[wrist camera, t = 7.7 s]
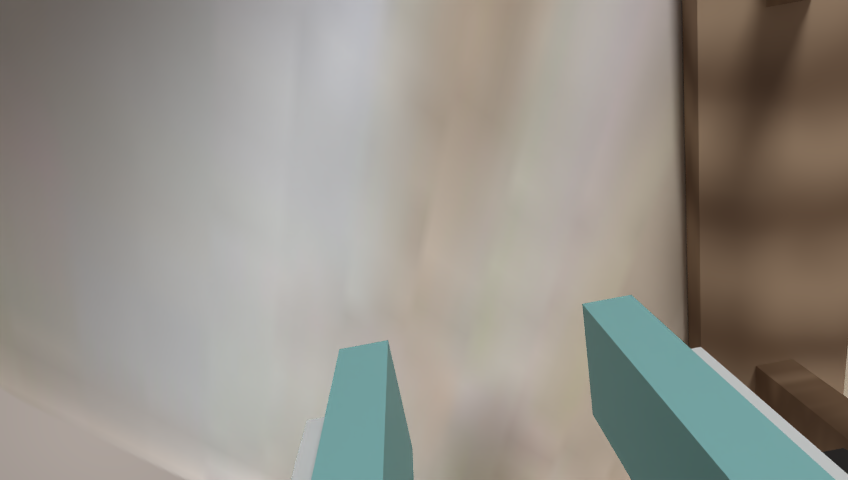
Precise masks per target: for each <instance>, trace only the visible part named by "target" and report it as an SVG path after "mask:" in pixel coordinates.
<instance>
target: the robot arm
mask: <svg viewBox="0 0 848 480" xmlns="http://www.w3.org/2000/svg"><path fill="white" fill-rule="evenodd" d="M692 350H693V351H694V352H695V353H696V354H697V355H698V356H699V357H700V358H702V359H703V360H704V361H705V362H706V363H707V364H708V365H709V366H710V367H711V368H713V369H714V370H715V371H716V372H717V373H718V374H719V375H720V376H721V377H723V378H724V379H725V380H726V381H727V382H728V383H729V384H730V385H731V386H732V387H734V388H735V389H736V390H737V391H738V392H739V393H740V394H741V395H742V396H744V397H745V398H746V399H747V400H748V401H749V402H750V403H751V404H752V405H754V406H755V407H756V408H757V409H758V410H759V411H760V412H761V413H762V414H763V415H765V416H766V417H767V418H768V419H769V420H770V421H771V422H772V423H773V424H775V425H776V426H777V427H778V428H779V429H780V430H781V431H782V432H783V433H784V434H786V435H787V436H788V437H789V438H790V439H791V440H792V441H793V442H794V443H796V444H797V445H798V446H799V447H800V448H801V449H802V450H803V451H804V452H805V453H807V454H808V455H809V456H810V457H811V458H812V459H813V460H814V461H815V462H817V463H818V464H819V465H820V466H821V467H822V468H823V469H824V470H825V471H827V472H828V473H829V474H830V475H831V476H832V477H833V478H834V479H835V480H848V450H846V449H844V448H841V449H835V450H830V451H824V452H821V451H820V450H819V449H818V448H817V447H816V446H815V445H813V444H812V443H811V442H810V441H809V440H808V439H806V438H805V437H804V436H803V435H802V434H801V433H800V432H798V431H797V430H796V429H795V428H794V427H793V426H792V425H790V424H789V423H788V422H787V421H786V420H785V419H783V418H782V417H781V416H780V415H779V414H778V413H777V412H775V411H774V410H773V409H772V408H771V407H770V406H768V405H767V404H766V403H765V402H764V401H763V400H762V399H760V398H759V397H758V396H757V395H756V394H755V393H754V392H752V391H751V390H750V389H749V388H748V387H747V386H745V385H744V384H743V383H742V382H741V381H740V380H739V379H737V378H736V377H735V376H734V375H733V374H732V373H730V372H729V371H728V370H727V369H726V368H725V367H724V366H722V365H721V364H720V363H719V362H718V361H717V360H716V359H714V358H713V357H712V356H711V355H710V354H709V353H707V352H706V351H705V350H704V349H703V348H702V347H697V348H692ZM324 418H325V417H322V418H316V419H311V420H307V421H306V425H305V429H304V433H303V436H302V440H301V444H300V448H299V451H298V455H297V459H296V463H295V466H294V470H293V474H292V478H291V480H311V478H312V473H313V469H314V464H315V460H316V455H317V450H318V446H319V441H320V437H321V432H322V427H323V423H324Z"/></svg>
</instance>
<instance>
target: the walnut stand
mask: <svg viewBox="0 0 848 480" xmlns="http://www.w3.org/2000/svg"><path fill="white" fill-rule="evenodd" d="M682 21H683V72H684V124H685V175H686V226H687V277H688V329H689V348H690V349H692V348H697V347H702V348H703V349H704V350H705V351H706V352H707V353H709V354H710V355H711V356H712V357H713V358H714V359H716V360H717V361H718V362H719V363H720V364H721V365H722V366H724V367H725V368H726V369H727V370H728V371H729V372H730V373H732V374H733V375H734V376H735V377H736V378H737V379H739V380H740V381H741V382H742V383H743V384H744V385H745V386H747V387H748V388H749V389H750V390H751V391H752V392H754V393H755V394H756V395H757V396H758V397H759V398H760V399H762V400H763V401H764V402H765V403H766V404H767V405H768V406H770V407H771V408H772V409H773V410H774V411H775V412H777V413H778V414H779V415H780V416H781V417H782V418H783V419H785V420H786V421H787V422H788V423H789V424H790V425H792V426H793V427H794V428H795V429H796V430H797V431H798V432H800V433H801V434H802V435H803V436H804V437H805V438H806V439H808V440H809V441H810V442H811V443H812V444H813V445H815V446H816V447H817V448H818V449H819V450H820V451H821V452H824V451H830V450H835V449H841V448H844V449H846V450H848V398H847V397H845V396H844V395H843V391H844V380H845V369H846V358H847V347H848V0H682Z"/></svg>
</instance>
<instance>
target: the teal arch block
mask: <svg viewBox="0 0 848 480" xmlns="http://www.w3.org/2000/svg"><path fill="white" fill-rule="evenodd" d="M582 305H583V315H584V326H585V336H586V347H587V357H588V368H589V378H590V389H591V399H592V410H593V415H594V417H595V419H596V420H597V422H598V424H599V426H600V427H601V429H602V431H603V432H604V434H605V436H606V437H607V439H608V441H609V442H610V444H611V446H612V448H613V449H614V451H615V453H616V454H617V456H618V458H619V459H620V461H621V463H622V464H623V466H624V468H625V470H626V471H627V473H628V475H629V476H630V478H631V480H835V479H834V478H833V477H832V476H831V475H830V474H829V473H828V472H827V471H825V470H824V469H823V468H822V467H821V466H820V465H819V464H818V463H817V462H815V461H814V460H813V459H812V458H811V457H810V456H809V455H808V454H807V453H805V452H804V451H803V450H802V449H801V448H800V447H799V446H798V445H797V444H796V443H794V442H793V441H792V440H791V439H790V438H789V437H788V436H787V435H786V434H784V433H783V432H782V431H781V430H780V429H779V428H778V427H777V426H776V425H775V424H773V423H772V422H771V421H770V420H769V419H768V418H767V417H766V416H765V415H763V414H762V413H761V412H760V411H759V410H758V409H757V408H756V407H755V406H754V405H752V404H751V403H750V402H749V401H748V400H747V399H746V398H745V397H744V396H742V395H741V394H740V393H739V392H738V391H737V390H736V389H735V388H734V387H732V386H731V385H730V384H729V383H728V382H727V381H726V380H725V379H724V378H723V377H721V376H720V375H719V374H718V373H717V372H716V371H715V370H714V369H713V368H711V367H710V366H709V365H708V364H707V363H706V362H705V361H704V360H703V359H702V358H700V357H699V356H698V355H697V354H696V353H695V352H694V351H693V350H692V349H690V348H689V347H688V346H687V345H686V344H685V343H684V342H683V341H682V340H681V339H679V338H678V337H677V336H676V335H675V334H674V333H673V332H672V331H671V330H669V329H668V328H667V327H666V326H665V325H664V324H663V323H662V322H661V321H659V320H658V319H657V318H656V317H655V316H654V315H653V314H652V313H651V312H650V311H648V310H647V309H646V308H645V307H644V306H643V305H642V304H641V303H640V302H638V301H637V300H636V299H635V298H634V297H633V296H632V295H628V296H623V297H617V298H612V299H607V300H601V301H596V302H591V303H585V304H582ZM311 480H414V478H413V453H412V445H411V440H410V436H409V431H408V427H407V422H406V418H405V414H404V409H403V405H402V400H401V396H400V391H399V387H398V383H397V378H396V374H395V369H394V365H393V360H392V356H391V352H390V347H389V343H388V340H387V341H382V342H376V343H371V344H366V345H360V346H355V347H350V348H344V349H339V354H338V359H337V363H336V368H335V372H334V377H333V381H332V386H331V391H330V395H329V400H328V404H327V409H326V414H325V418H324V423H323V427H322V432H321V437H320V441H319V446H318V450H317V455H316V460H315V464H314V469H313V473H312V478H311Z"/></svg>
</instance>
